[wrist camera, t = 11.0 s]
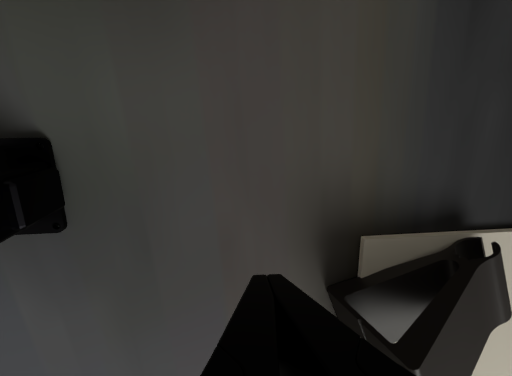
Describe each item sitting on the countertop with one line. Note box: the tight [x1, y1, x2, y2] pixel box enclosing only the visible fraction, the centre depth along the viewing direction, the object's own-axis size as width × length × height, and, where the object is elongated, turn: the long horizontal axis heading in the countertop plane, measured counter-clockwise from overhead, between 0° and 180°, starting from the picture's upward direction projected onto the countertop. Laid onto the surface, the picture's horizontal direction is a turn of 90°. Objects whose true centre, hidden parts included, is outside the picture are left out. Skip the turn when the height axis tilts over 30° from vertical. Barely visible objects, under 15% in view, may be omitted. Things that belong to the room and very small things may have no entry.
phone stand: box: [327, 237, 512, 376], centre depth 21 cm, size 9×6×12 cm
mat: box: [358, 228, 512, 376], centre depth 25 cm, size 16×18×1 cm
